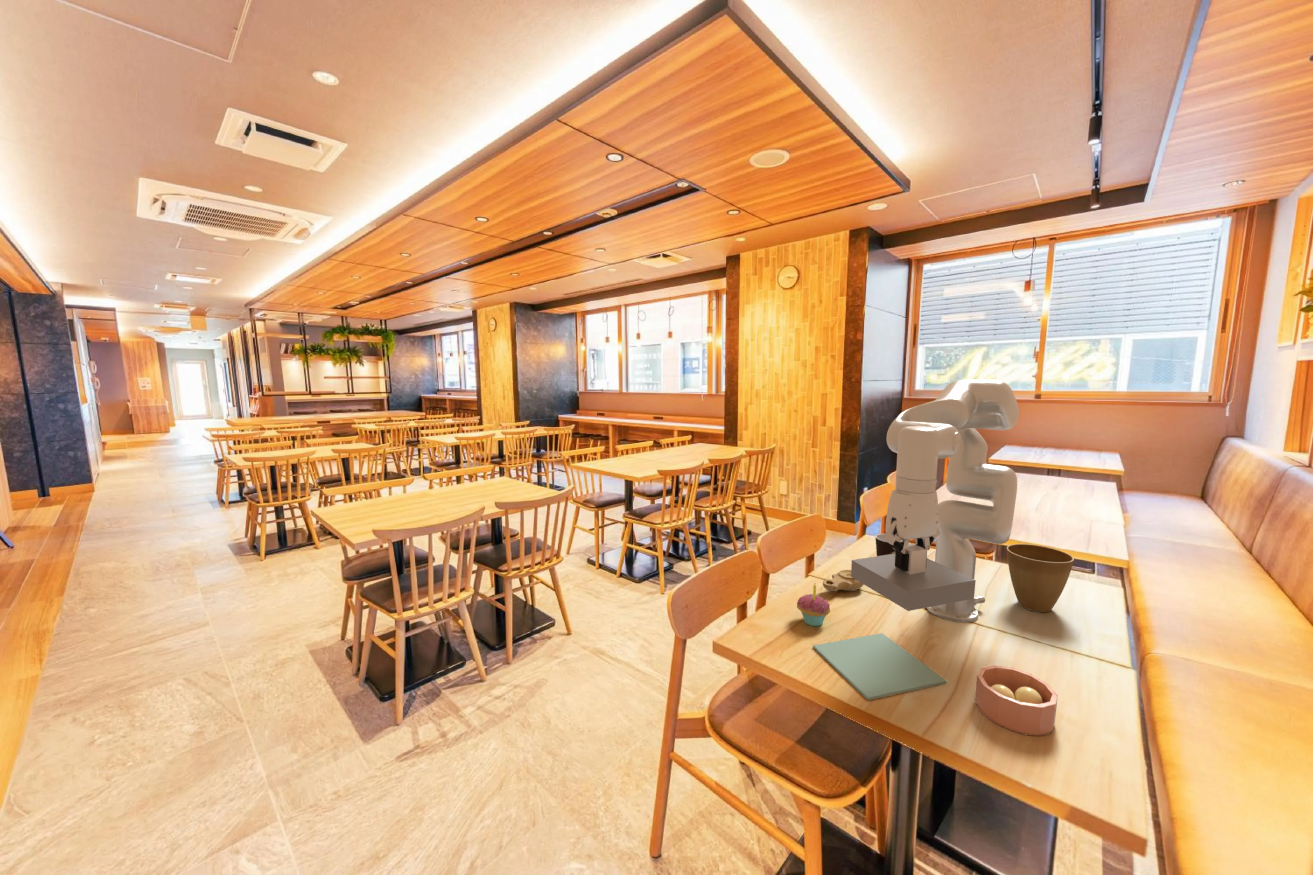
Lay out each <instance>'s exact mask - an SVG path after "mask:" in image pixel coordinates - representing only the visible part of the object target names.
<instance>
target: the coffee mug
mask: <svg viewBox="0 0 1313 875" xmlns="http://www.w3.org/2000/svg"><path fill="white" fill-rule="evenodd" d="M885 534H886V533H879V534H875V536H874V537H875V550H876V551H875V552H876V556H882V555H889V554H895V552H896V550H894V549H893V547H892V546H891V544H890V543H888V542H887V541H885V540H884V536H885ZM894 539H895V537H894ZM902 542H903V541H902V540H901V542H900V544H901V545H902Z"/></svg>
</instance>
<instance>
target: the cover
mask: <svg viewBox="0 0 1313 875" xmlns="http://www.w3.org/2000/svg"><path fill="white" fill-rule="evenodd" d="M907 553H908V554H909V565H908V571H903V570H901V569H899V568H897V567H895V554H889V555H882V556H877V555H876V556H870V557H864V558H856V559H851V569H850V570H851V577H852V578H854V579H856V580H857V581H859V582H861V583H862V584H864V585H863V586H865V587H868V588H869V589H871V590H872V591H874V592H875V593H877V594H879V595H880V596H882V597H884V598H885V599H887V600H889V601H891V602H892V603H894V604H895V605H897V606H899V607H901V608H902V609H904V610H905V611H907V612H911V611H916V610H922V609H927V607H932V606H937V605H943V604H948V603H953V602H958V601H964V600H969V599H974V597H975V592H976V579H975V578H974V579H972V578H970V577H968V576H965V575H963V574H961V573H959V572H956V571H954V570H952V569H950V568H948V567H945V566H943V565H941V564H939V563H936V562H935V560H932V559H930V558H928V557H927V561H926V554H927V555H928V550H927V549H924V548H922V547H920V546H917V545H916V543H915V544H914V543H910V542H909V545H908V549H907Z"/></svg>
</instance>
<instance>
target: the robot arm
mask: <svg viewBox="0 0 1313 875" xmlns="http://www.w3.org/2000/svg"><path fill="white" fill-rule="evenodd" d="M1019 417H1020V408H1019V404H1018V402H1017V398H1016V396H1015V394H1014V391H1013V389H1012V388H1011V386H1010V385H1009V384H1008V383H1006V382H1005V381H1003V380H999V379H961V380H959V379H958V380H954V381H952V382H951V383H948V384H947V385H946V386H945V387H944V389H942V391H941V392H940V394H939V395H938V396H937V397H936V398H935V400H932V401H929V402H925V403H923V404H918V405H915V406H912V407H910V408H907V409H905V410H904V411H902V412H901V413H899V414H898V415H897V417H896V418H895V419H893V421H892V422H891V423H890V425H889V427H888V429H887V433H886V444H887V447H888V449H889V450H890V451H891V452H893V453H896V454H897V455H896V469H895V470H896V472H895V485H894V486H895V487H894V488H895V489H894V490H892V491H891V493H890V497H889V499H888V506H887V511H886V519H885V533H884V534H885V536H884V540H885V541H887V542H888V543H890V544H891V546H892V547H893V549H894V550H896V552H895V567H897V568H899V569H901V570H903V571H908V565H909V554H908V553H907V549H908V545H909V544H910V541H911V540H914V542H915V545H917V546H920V547H922V548H924V549H927V551H929V550H930V549H931V544H932V543H933V542H934V540H935V558H934V562H936V563H939V564H941V565H943V566H945V567H948V568H950V569H952V570H954V571H956V572H959V573H961V574H963V575H965V576H968V577H970V578H972V579H974V580H975V574H976V563H977V553H976V550H975V548H974V546H973V544H972V543H971V542H970V540H975V541H979V542H984V543H990V544H995V545H1003V544H1006V543H1007V542H1008V541H1009V540H1010V537H1011V535H1012V529H1013V525H1014V523H1013V522H1014V516H1015V508H1016V501H1017V500H1016V499H1017V493H1018V477H1017V474H1016V472H1015V470H1013V469H1012V468H1010V467H1008V466H1004V465H995V464H987V457H988V456H987V455H988V449H989V446H988V444H987V442H986V440H985V439H984V437H983V436H982V435H981V433H980V432H979V431H978V430H981V429H982V430H995V431H1007V430H1008V431H1009V430H1011V429H1013V428H1014V427H1015V426H1016V425H1017V423H1018V421H1019ZM977 429H978V430H977ZM947 458H948V459H949V460H948V464H947V465H948V466H947V472H946V480H945V485H946V490H947V491H948V492H949V493H951V494H952V495H956V496H959V497H965V498H970V499H976V500H977V499H978V500H984V501H989V502H991V503H992V505H993V506H992V505H987V504H980V503H976V502H975V503H974V502H968V501H962V500H956V499H955V500H954V499H953V500H952V499H948V500H943V501H941V502H939V498H938V493H937V491H936V489H937V484H938V479H937V475H938V473H937V472H938V463H939V462H938V459H947ZM894 537H895V539H894ZM901 540H902V541H903V542H902V545H901V544H900V542H901ZM927 558H928V553H927V554H926V561H927ZM985 602H986V598H985V597H984V596H982V595H977V596H974V599H969V600H964V601H958V602H953V603H948V604H943V605H937V606H932V607H927V608H926V609H927V611H929V612H930V613H931V614H933V615H935V616H937V617H939V618H941V619H944V620H946V621H952V622H957V623H972V622H974V621H977V619H978V618H979V611H978V610H977V609H976V607H975V606H977V604H983V603H985Z"/></svg>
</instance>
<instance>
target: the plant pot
mask: <svg viewBox="0 0 1313 875" xmlns="http://www.w3.org/2000/svg"><path fill="white" fill-rule="evenodd" d="M1006 554H1007V564H1008V571H1009V575H1010V580H1011V584H1012V588H1013V590H1014V594H1015V597H1016V600H1017V603H1018V604H1019V605H1020V606H1021V607H1022V608H1024V609H1027V610H1030V611H1033V612H1037V613H1038V612H1039V613H1049V612H1051V611H1052V610H1053V609H1054V606H1056V604H1057V602H1058V600H1059V598H1060V597H1061V595H1062V593H1063V592H1064V589H1065V587H1066V585H1067V582H1068V580H1069V577H1070V575H1071V571H1072V569H1073V564H1074V561H1075V558H1074V556H1072V555H1071V554H1069V553H1067V552H1065V551H1062V550H1059V549H1056V548H1052V547H1049V546H1045V545H1044V546H1043V545H1038V544H1037V545H1036V544H1029V543H1028V544H1027V543H1013V544H1009V545H1008V546H1006Z"/></svg>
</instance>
